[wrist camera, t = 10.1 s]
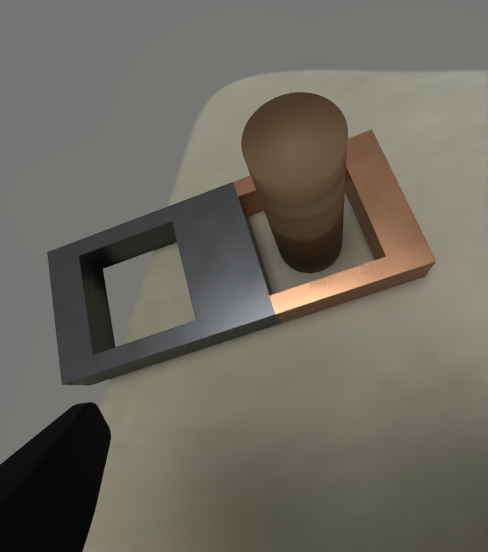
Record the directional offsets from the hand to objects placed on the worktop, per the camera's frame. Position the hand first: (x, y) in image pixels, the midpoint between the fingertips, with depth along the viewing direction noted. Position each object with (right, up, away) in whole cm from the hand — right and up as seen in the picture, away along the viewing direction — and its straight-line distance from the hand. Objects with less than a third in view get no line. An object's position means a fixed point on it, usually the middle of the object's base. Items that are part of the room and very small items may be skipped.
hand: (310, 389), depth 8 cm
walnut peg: (+3, +4, +15) cm, 16 cm away
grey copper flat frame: (-2, +3, +16) cm, 16 cm away
